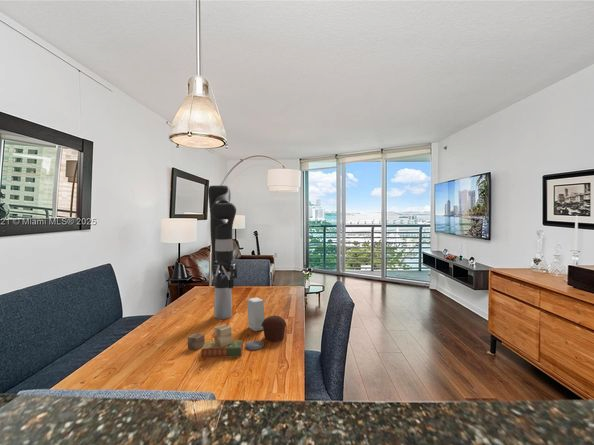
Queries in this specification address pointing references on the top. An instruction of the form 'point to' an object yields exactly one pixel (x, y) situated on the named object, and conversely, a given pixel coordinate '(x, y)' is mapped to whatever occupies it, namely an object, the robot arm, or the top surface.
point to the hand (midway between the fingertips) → (224, 286)
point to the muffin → (274, 328)
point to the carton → (222, 349)
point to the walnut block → (196, 341)
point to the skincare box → (255, 313)
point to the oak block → (223, 335)
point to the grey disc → (254, 345)
